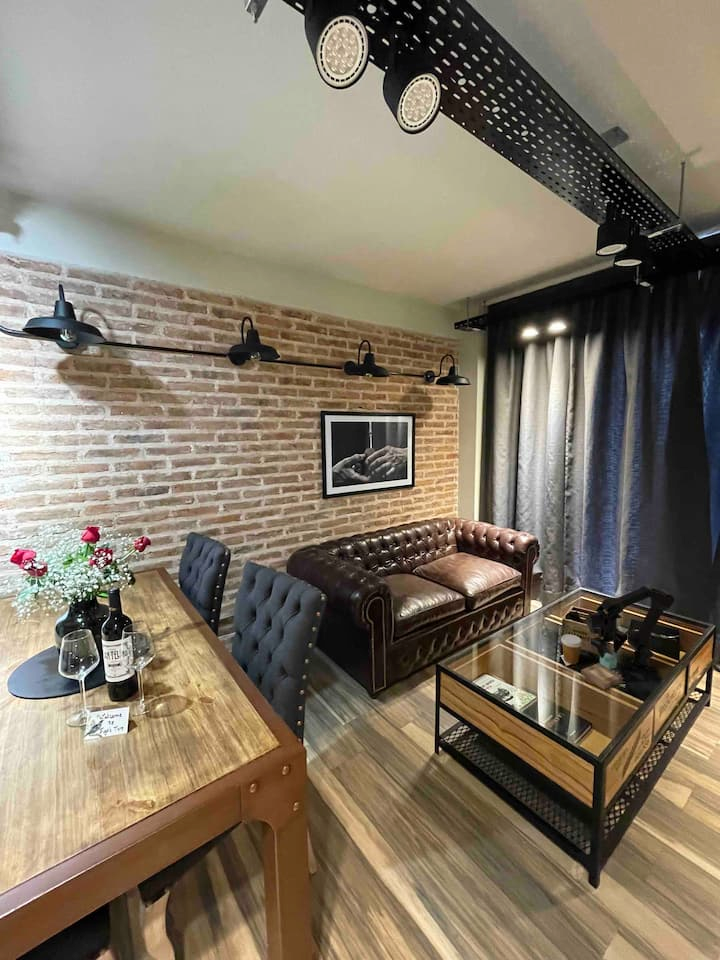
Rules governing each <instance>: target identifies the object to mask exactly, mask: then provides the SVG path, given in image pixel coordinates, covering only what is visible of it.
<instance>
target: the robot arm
mask: <svg viewBox="0 0 720 960" xmlns="http://www.w3.org/2000/svg"><path fill="white" fill-rule="evenodd" d="M648 598H650V602H651V605H650V607H649V610H648V611H647V613H646V615H645V616H644V619H643V621H642V623H641V624H640V626H639V628H638V630H637V631H635V632H633V631H630V633H629V636H628V634H627V633H625V632H623V631H621V630H620V629H619V628H618V625H617V624H618V619H622V618H623V616H622V615H620V614H621V613H622V612H623V611H624V610H625V608H627V607H629V606H632V605H634V604H636V603H638V602H641V601H643V600H646V599H648ZM674 602H675V599H674V596H673V595H672V594H670V593H668V592H667V591H665V590H664V589H661V588H656V589H655V588H653V587H649V586H646V585H645V586H644V585H643V586H641V587H640V588H638V589H636V590H633V591H631V592H628V593H626V594H624V595H622V596H618V597H609V598H606V599H604V600H602V602H601V603H600V605H599V606H598V607H597V608H596V610H595V611H596V612H594V613H592V612H589V613H588V615H586V617H585V622H586V625H587V627H588V628H589V632H590V634H592V635H598V636H599V637H598V636H596V637H594V638H591V639H590V645H592V646H593V647H595V648H596V650H597V651H598V654H599V658H600V657H601V658H604V656H605V653H607V650H608V643H613V647H612V648H613V652H614V653H615V654H617V653H618V652H619V650H620V649H621V648H622V647H623V645H624V644H625V643H626V642H627V643H628V645H629V646H630V648H631V649H632V650H633V651H634V652H633V658H632V660H630V663H631V664H633V665H635V666H636V667H638V668H640V669H642V670H645V669H647V668H650V667H652V666H653V664H651V663H650V661H649V660H650V658H653V657H654V652H653V651H651V650H650V649H649V648H650V645H651V641H650V640H651V639H650V637H651V635H652V633H653V632H654V629H655V628H656V626H657V624H658V621H659V620H660V618H661V616H662V615H663V613H664V611H666V610H668V609H670V608H671V607H672V605H673V604H674ZM600 637H601V638H600Z"/></svg>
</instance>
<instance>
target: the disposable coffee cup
mask: <svg viewBox="0 0 720 960" xmlns="http://www.w3.org/2000/svg"><path fill="white" fill-rule="evenodd" d="M560 642H561V643H562V644H561V645H562V653H563V655H562V656H563V661H565V663H567V662H568V663H567V664H569V663H571V664H570V665H576V663H577V664H578V663H579V658H580V653H581V647H582V645H583V641H582V639H581V638H580V637H579V636H577V635H574V634H572V633H571V634H569V633H567V634H563V635H562V636H561V638H560Z"/></svg>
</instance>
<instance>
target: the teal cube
mask: <svg viewBox="0 0 720 960" xmlns="http://www.w3.org/2000/svg"><path fill="white" fill-rule="evenodd" d="M617 661H618V660H617V657H615V656H614V655H612V654H610V653H608V652H606V653H605V656H604V658H601V657H600V656H599V663H600V664H602V665H603V666H605V667H607V668H608V669H610V670H614V669H616V668H617Z"/></svg>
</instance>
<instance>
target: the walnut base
mask: <svg viewBox="0 0 720 960" xmlns="http://www.w3.org/2000/svg"><path fill="white" fill-rule="evenodd" d="M580 675H581V676H582V677H584V678H586V679H587V680H588V679H589V680H588V681H590V682H591V681H592V684H595V685H596V686H598V687H599V688H601V689H602V690H604V691H605V690H607V689H610V688H612V687H614V686H617V685H619V684H621V683H623V678H624V677H623V676H621V675H620V674H618V673H617V672H615V671H613V669H611V670H610V669H608V668H607V667H605V666H603V665H602V664H600V662H598V663H595V664H593V665H589V666H588V667H585V668H582V669H581V670H580ZM620 682H621V683H620ZM618 683H619V684H618ZM616 684H617V685H616ZM611 686H612V687H611ZM609 687H610V688H609Z"/></svg>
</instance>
